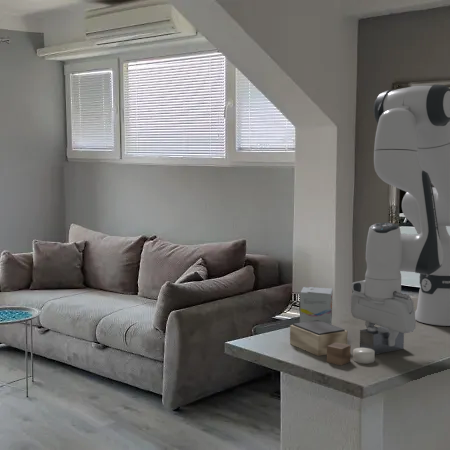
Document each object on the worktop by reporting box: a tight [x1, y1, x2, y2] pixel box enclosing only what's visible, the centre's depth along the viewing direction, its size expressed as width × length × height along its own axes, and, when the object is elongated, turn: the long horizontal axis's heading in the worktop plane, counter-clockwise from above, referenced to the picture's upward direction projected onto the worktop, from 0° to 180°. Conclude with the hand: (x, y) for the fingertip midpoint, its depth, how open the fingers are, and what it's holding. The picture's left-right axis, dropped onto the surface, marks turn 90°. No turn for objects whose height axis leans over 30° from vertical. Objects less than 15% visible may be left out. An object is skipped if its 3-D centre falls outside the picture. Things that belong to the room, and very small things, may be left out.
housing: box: [359, 325, 405, 355], centre depth 175 cm, size 10×5×6 cm, turn 119°
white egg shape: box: [352, 347, 376, 365], centre depth 166 cm, size 5×5×2 cm
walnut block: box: [326, 343, 351, 366], centre depth 165 cm, size 4×4×4 cm
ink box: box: [299, 286, 334, 325], centre depth 192 cm, size 9×9×12 cm
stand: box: [289, 320, 348, 357], centre depth 176 cm, size 9×12×5 cm
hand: (381, 342), depth 175 cm, fingers closed on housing, 5 cm apart
